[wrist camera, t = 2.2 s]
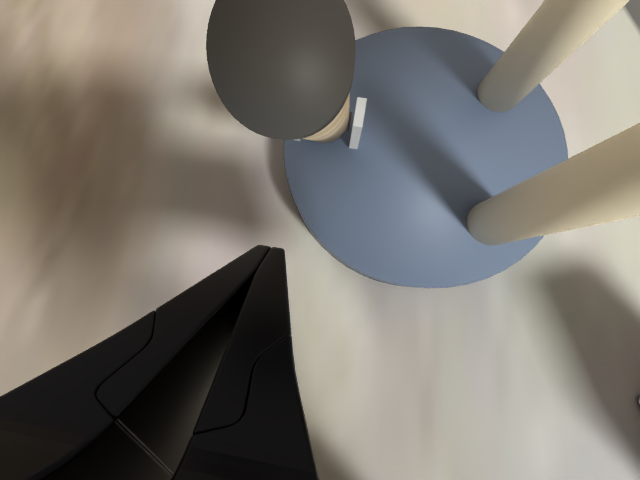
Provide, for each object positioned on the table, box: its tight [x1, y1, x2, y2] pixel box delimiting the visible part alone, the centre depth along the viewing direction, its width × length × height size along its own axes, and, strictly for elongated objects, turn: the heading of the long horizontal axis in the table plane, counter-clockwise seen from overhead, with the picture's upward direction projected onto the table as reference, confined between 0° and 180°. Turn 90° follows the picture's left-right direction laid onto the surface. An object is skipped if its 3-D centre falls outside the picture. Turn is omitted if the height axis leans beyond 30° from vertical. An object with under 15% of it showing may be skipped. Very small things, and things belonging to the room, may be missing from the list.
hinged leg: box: [206, 0, 355, 143], centre depth 11 cm, size 3×3×13 cm
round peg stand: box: [284, 0, 640, 288], centre depth 13 cm, size 20×20×16 cm
